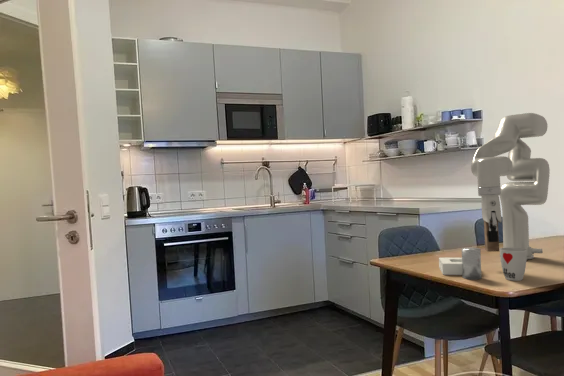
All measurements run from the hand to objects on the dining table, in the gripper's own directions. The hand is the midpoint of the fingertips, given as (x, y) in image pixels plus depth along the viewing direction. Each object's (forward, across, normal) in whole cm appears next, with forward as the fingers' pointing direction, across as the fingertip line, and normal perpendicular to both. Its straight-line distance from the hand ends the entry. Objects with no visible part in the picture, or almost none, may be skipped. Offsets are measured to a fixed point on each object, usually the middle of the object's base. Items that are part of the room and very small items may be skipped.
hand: (491, 240), depth 161 cm
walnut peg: (+4, 0, 0) cm, 4 cm away
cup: (+11, -15, -3) cm, 19 cm away
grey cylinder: (+10, -14, +10) cm, 20 cm away
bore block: (+10, -4, +13) cm, 17 cm away
